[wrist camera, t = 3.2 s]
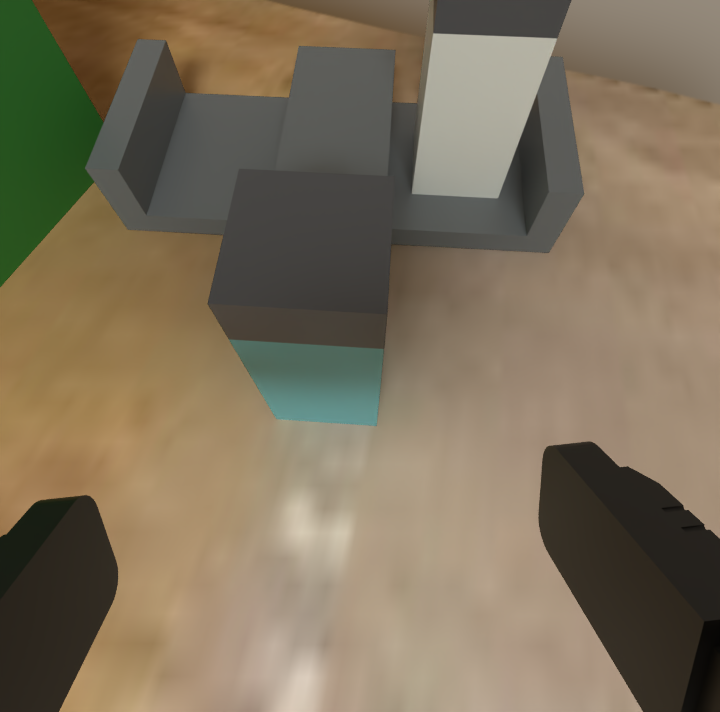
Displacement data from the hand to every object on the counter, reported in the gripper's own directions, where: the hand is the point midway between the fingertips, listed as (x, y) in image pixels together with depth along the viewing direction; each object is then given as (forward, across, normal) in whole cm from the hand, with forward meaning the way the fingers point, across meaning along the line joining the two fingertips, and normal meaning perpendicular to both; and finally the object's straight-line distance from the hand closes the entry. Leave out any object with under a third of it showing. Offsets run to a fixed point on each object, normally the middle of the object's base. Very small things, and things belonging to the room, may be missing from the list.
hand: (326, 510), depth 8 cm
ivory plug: (+20, -8, -6) cm, 22 cm away
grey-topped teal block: (+13, 0, +3) cm, 13 cm away
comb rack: (+21, -2, -6) cm, 22 cm away
